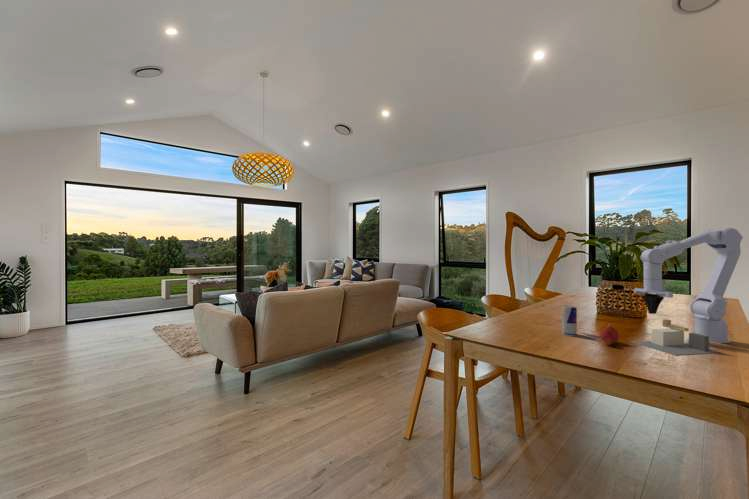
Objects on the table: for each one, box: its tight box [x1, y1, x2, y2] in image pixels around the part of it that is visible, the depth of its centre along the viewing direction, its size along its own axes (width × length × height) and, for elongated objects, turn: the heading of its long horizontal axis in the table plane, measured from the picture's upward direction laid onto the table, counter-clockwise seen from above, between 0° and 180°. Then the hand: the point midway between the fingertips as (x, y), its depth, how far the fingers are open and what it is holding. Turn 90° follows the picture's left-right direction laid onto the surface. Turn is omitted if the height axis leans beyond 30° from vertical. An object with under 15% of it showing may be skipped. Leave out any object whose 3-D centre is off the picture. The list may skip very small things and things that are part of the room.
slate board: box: [629, 332, 721, 357], centre depth 126 cm, size 18×18×6 cm
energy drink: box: [561, 304, 578, 337], centre depth 146 cm, size 5×5×12 cm
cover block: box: [650, 327, 685, 346], centre depth 130 cm, size 9×4×5 cm, turn 100°
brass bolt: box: [662, 318, 690, 332], centre depth 130 cm, size 2×8×3 cm, turn 10°
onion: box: [599, 323, 620, 346], centre depth 131 cm, size 6×6×8 cm
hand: (652, 313), depth 139 cm, fingers closed
